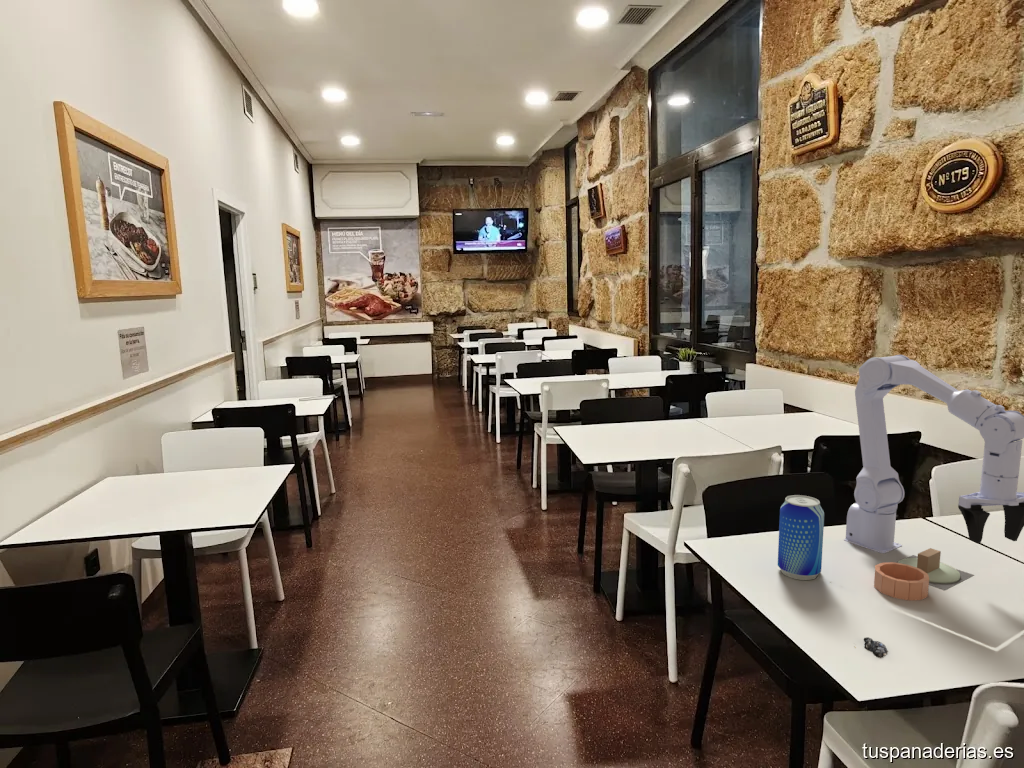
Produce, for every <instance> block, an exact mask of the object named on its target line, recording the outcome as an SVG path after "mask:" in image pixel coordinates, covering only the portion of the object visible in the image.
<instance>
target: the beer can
mask: <svg viewBox="0 0 1024 768" xmlns="http://www.w3.org/2000/svg"><path fill="white" fill-rule="evenodd" d="M778 523H779V526H778V546H777V547H778V549H777V551H778V552H777V567H778V568H779V570H780V571H781V573H782V574H783V575H785V576H786V577H788V578H791V579H795V580H798V581H799V580H800V581H811V580H814V579H816V578H818V575H819V574H820V573H821V572H822V563H823V546H824V545H823V544H824V530H825V529H824V527H825V512H824V509H823V508H822V506H821V502H820V500H819V499H817V498H815V497H812V496H809V495H808V496H807V495H802V494H801V495H800V494H794V495H787V496H786V497H785V499H784V502H783V503H782V504H781V506H780V509H779V522H778Z"/></svg>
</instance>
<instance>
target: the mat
mask: <svg viewBox="0 0 1024 768" xmlns="http://www.w3.org/2000/svg"><path fill="white" fill-rule="evenodd" d="M906 558H918V555H915V554H912V555H910V556H908V557H906ZM895 563H898V561H896V562H895ZM955 569H956V570H957V571H958V572H959V573H960V579H959V581H957V582H954V583H947V584H941V583H931V582H929V586H931V587H934V588H936V589H939V590H942V591H947V590H948V589H951V588H952V587H954V586H956V585H958V584H960V583H962V582H964V581H966V580H967V579H970V578H972V577H974V576H975V574H972V573H968V572H967V571H964V570H960V569H957V568H955Z"/></svg>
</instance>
